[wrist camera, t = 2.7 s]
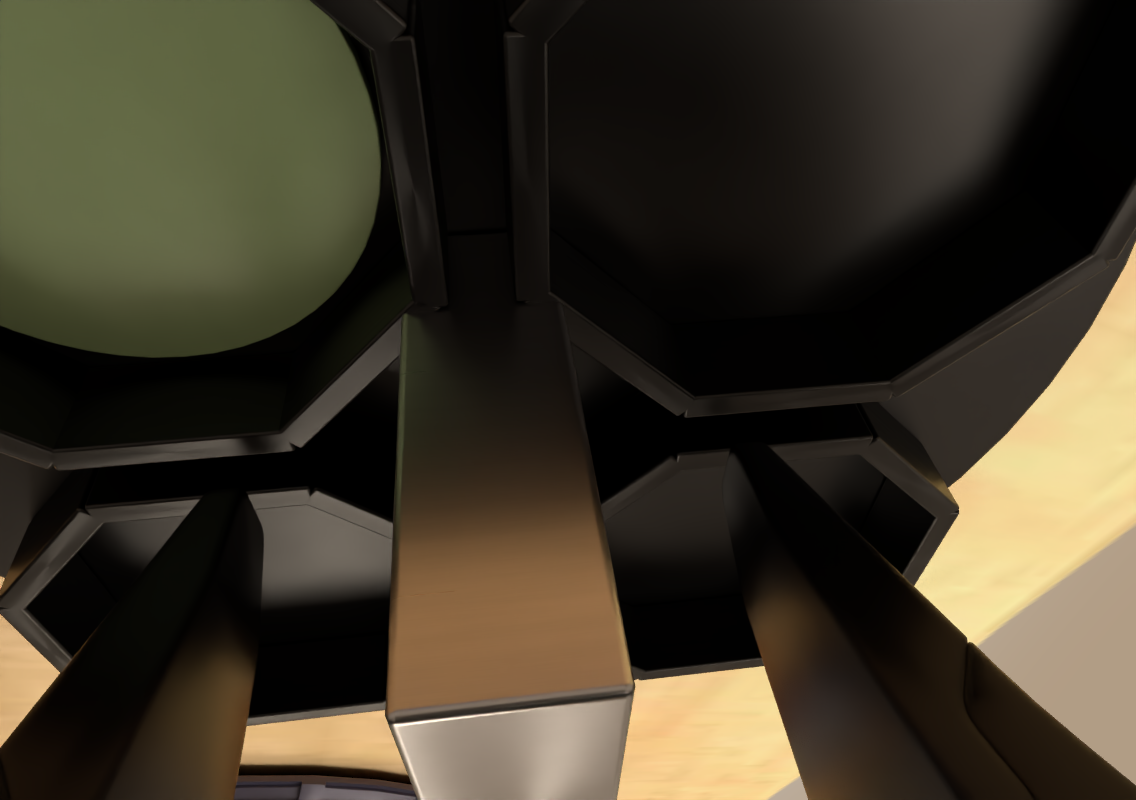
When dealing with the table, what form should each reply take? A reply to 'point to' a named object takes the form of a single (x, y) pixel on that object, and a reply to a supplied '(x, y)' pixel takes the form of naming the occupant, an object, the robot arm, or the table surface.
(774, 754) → the table surface
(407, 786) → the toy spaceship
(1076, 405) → the table surface
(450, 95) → the cup holder
